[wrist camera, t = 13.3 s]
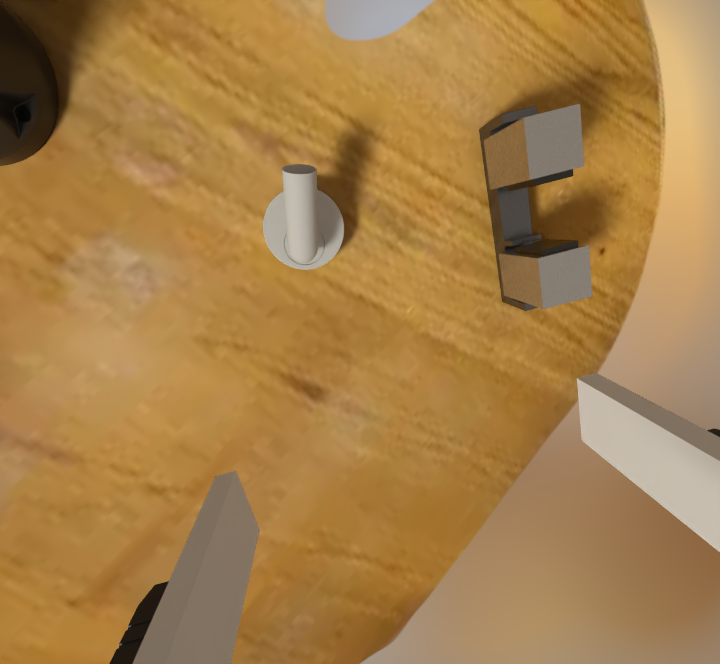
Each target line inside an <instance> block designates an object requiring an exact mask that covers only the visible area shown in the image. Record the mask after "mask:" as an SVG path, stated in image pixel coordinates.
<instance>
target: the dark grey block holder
mask: <svg viewBox="0 0 720 664" xmlns="http://www.w3.org/2000/svg"><path fill="white" fill-rule="evenodd" d="M479 132H480V140H481V147H482V154H483V162H484V169H485V177H486V184H487V192H488V199H489V206H490V214H491V221H492V229H493V236H494V244H495V251H496V258H497V266H498V273H499V281H500V288H501V296H502V302H504V303H507V304H509V305H512V306H514V307H517V308H519V309H522V310H525V311H527V310H531V309H534V308H538V307H535V306H533V305H530V304H527V303H524V302H521V301H519V300H516V299H513V298H510V297H507V296H504V291H503V283H502V275H501V268H500V260H499V253H503V252H506V251H510V250H514V249H515V248H516V247H520V246H523V245H527V244H531V243H533V241H534V240H538V239H542V234H533V233H532V224H531V214H530V205H529V195H528V187H532V186H536V185H540V184H544V183H548V182H552V181H556V180H559V179H563V178H567V177H571V176H573V169H575V168H578V167H582V166H584V158H583V141H582V125H581V109H580V104H576V105H572V106H568V107H564V108H560V109H556V110H552V111H548V112H544V113H540V114H537V109H536V106H533V107H529V108H525V109H521V110H517V111H513V112H509V113H505V114H502V115H501V116H499V117H497V118H496V119H494V120H493V121H491V122H490V123H488V124H487V125H485V126H484V127H482V128H481V129H479Z"/></svg>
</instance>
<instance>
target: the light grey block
mask: <svg viewBox="0 0 720 664" xmlns="http://www.w3.org/2000/svg"><path fill="white" fill-rule="evenodd" d="M499 260H500V268H501V275H502V283H503V291H504V296H507V297H510V298H513V299H516V300H519V301H521V302H524V303H527V304H530V305H533V306H535V307H538V308H541V309H546V308H550V307H554V306H557V305H561V304H565V303H569V302H572V301H576V300H580V299H584V298H588V297H591V296H592V287H591V271H590V254H589V245H578V241H576V240H548V239H547V240H543V241H539V242H535V243H531V244H527V245H523V246H520V247H516V248H515V249H514V250H510V251H506V252H503V253H499Z"/></svg>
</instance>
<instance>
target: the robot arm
mask: <svg viewBox="0 0 720 664" xmlns="http://www.w3.org/2000/svg"><path fill="white" fill-rule="evenodd" d="M57 109H58V93H57V85H56V80H55V76H54V72H53V69H52V66H51V64H50V61H49V59H48V57H47V55H46V53H45V51H44V49H43V47H42V46H41V44H40V42H39V41H38V39H37V38H36V36H35V35H34V34H33V32H32V31H31V30H30V29H29V27H28V26H27V25H26V24H25V23H24V22H23V21H22V20H21V19H20V18H19V17H18V16H17V15H16V14H15V13H14V12H13V11H11V10H10V9H9V8H8V7H6V6H5V5H3V4H2V3H1V2H0V166H2V165H9V164H13V163H16V162H19V161H22V160H24V159H26V158H28V157H29V156H31V155H32V154H34V153H35V152H36V151H37V150H38V149H39V148H40V147H41V146H42V145H43V144H44V143H45V141H46V140H47V139H48V137H49V135H50V133H51V131H52V129H53V126H54V124H55V120H56V116H57ZM577 385H578V397H579V409H580V422H581V435H582V441H583V442H584V443H586V444H587V445H588V446H589V447H591V448H592V449H593V450H594V451H595V452H597V453H598V454H599V455H600V456H602V457H603V458H604V459H605V460H607V461H608V462H609V463H610V464H612V465H613V466H614V467H615V468H617V469H618V470H619V471H620V472H621V473H623V474H624V475H625V476H626V477H628V478H629V479H630V480H631V481H632V482H634V483H635V484H636V485H637V486H639V487H640V488H641V489H642V490H644V491H645V492H646V493H648V494H649V495H650V496H651V497H652V498H653V499H655V500H656V501H657V502H658V503H660V504H661V505H662V506H664V507H665V508H666V509H667V510H668V511H670V512H671V513H672V514H673V515H675V516H676V517H677V518H678V519H680V520H681V521H682V522H683V523H684V524H686V525H687V526H688V527H689V528H691V529H692V530H693V531H694V532H695V533H697V534H698V535H699V536H700V537H702V538H703V539H704V540H705V541H707V542H708V543H709V544H711V545H712V546H713V547H714V548H715V549H716V550H718V551H719V552H720V430H718V429H711V430H705V429H703V428H701V427H699V426H697V425H695V424H693V423H691V422H689V421H688V420H686V419H684V418H682V417H680V416H678V415H676V414H674V413H672V412H670V411H668V410H666V409H665V408H663V407H661V406H659V405H657V404H655V403H653V402H651V401H649V400H647V399H645V398H643V397H641V396H640V395H638V394H636V393H634V392H632V391H630V390H628V389H626V388H624V387H622V386H620V385H618V384H616V383H614V382H613V381H610V380H609V379H607V378H605V377H603V376H601V375H599V374H597V373H595V374H591V375H588V376H584V377H580V378H577ZM259 530H260V529H259V527H258V524H257V522H256V519H255V517H254V514H253V512H252V509H251V507H250V504H249V502H248V499H247V497H246V495H245V492H244V490H243V487H242V485H241V482H240V480H239V477H238V475H237V472H236V471H233V472H230V473H226V474H222V475H219V476H215V479H214V481H213V483H212V485H211V488H210V490H209V492H208V494H207V497H206V499H205V501H204V503H203V506H202V508H201V510H200V512H199V515H198V517H197V519H196V522H195V524H194V526H193V528H192V531H191V533H190V535H189V537H188V540H187V542H186V544H185V546H184V549H183V551H182V553H181V555H180V558H179V560H178V562H177V564H176V567H175V569H174V571H173V573H172V576H171V578H170V580H169V581H168V582H164V583H161V584H157V585H154V587H153V588H152V589H151V590H150V592H149V593H148V594H147V595H146V597H145V598H144V599H143V600H142V602H141V603H140V604H139V605H138V607H137V609H136V611H135V613H134V615H133V617H132V619H131V621H130V623H129V625H128V630H127V631H126V632H125V634H124V636H123V638H122V640H121V642H120V644H119V649H117V650H116V652H115V654H114V656H113V658H112V660H111V662H110V664H231V660H232V655H233V651H234V646H235V641H236V637H237V632H238V627H239V623H240V618H241V613H242V609H243V604H244V600H245V595H246V590H247V586H248V581H249V576H250V572H251V567H252V562H253V558H254V553H255V549H256V544H257V539H258V535H259Z"/></svg>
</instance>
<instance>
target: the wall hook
mask: <svg viewBox="0 0 720 664" xmlns="http://www.w3.org/2000/svg"><path fill="white" fill-rule="evenodd" d="M282 175H283V188H284V191H283V192H281V193H280V194H278V195H277V196H276V197H275V198H274V199H273V200H272V201H271V203H270V204H269V206H268V208H267V210H266V213H265V216H264V222H263V231H264V237H265V240H266V243H267V245H268V247H269V249H270V250H271V252H272V253H273V254H274V255H275V257H276V258H277V259H279V260H280V261H281V262H283V263H284V264H286V265H288V266H290V267H293V268H296V269H303V270H307V269H314V268H318V267H320V266H323V265H324V264H326V263H328V262H329V261H330V260H331V259H332V258H333V257H334V256H335V255H336V254H337V252H338V251H339V249H340V247H341V244H342V241H343V237H344V222H343V218H342V215H341V212H340V210H339V208H338V207H337V205H336V204H335V202H334V201H333V200H332V199H331V198H330V197H329V196H328V195H326V194H325V193H323V192H322V191H320V190H317V169H316V168H315V167H313V166H310V165H303V164H294V165H287V166H285V167H283V168H282Z"/></svg>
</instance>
